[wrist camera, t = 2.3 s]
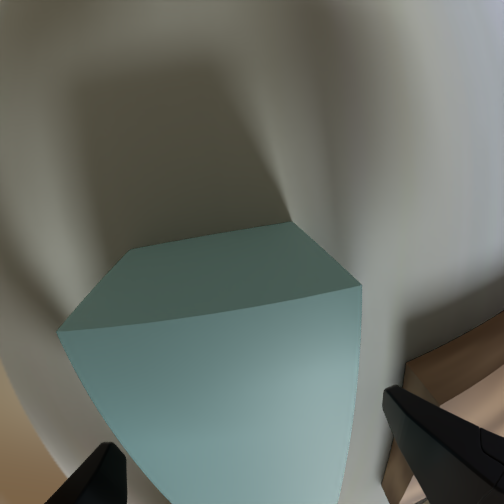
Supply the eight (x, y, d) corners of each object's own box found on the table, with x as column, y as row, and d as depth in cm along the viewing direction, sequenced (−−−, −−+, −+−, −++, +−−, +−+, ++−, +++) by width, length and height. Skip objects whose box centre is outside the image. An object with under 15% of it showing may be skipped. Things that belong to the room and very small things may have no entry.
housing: (307, 441, 12) (332, 522, 8) (209, 456, 12) (210, 539, 7) (290, 220, 9) (361, 284, 4) (131, 247, 9) (56, 331, 4)
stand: (508, 409, 16) (524, 427, 13) (381, 485, 15) (393, 513, 13) (554, 274, 11) (582, 290, 9) (405, 362, 11) (440, 405, 8)
